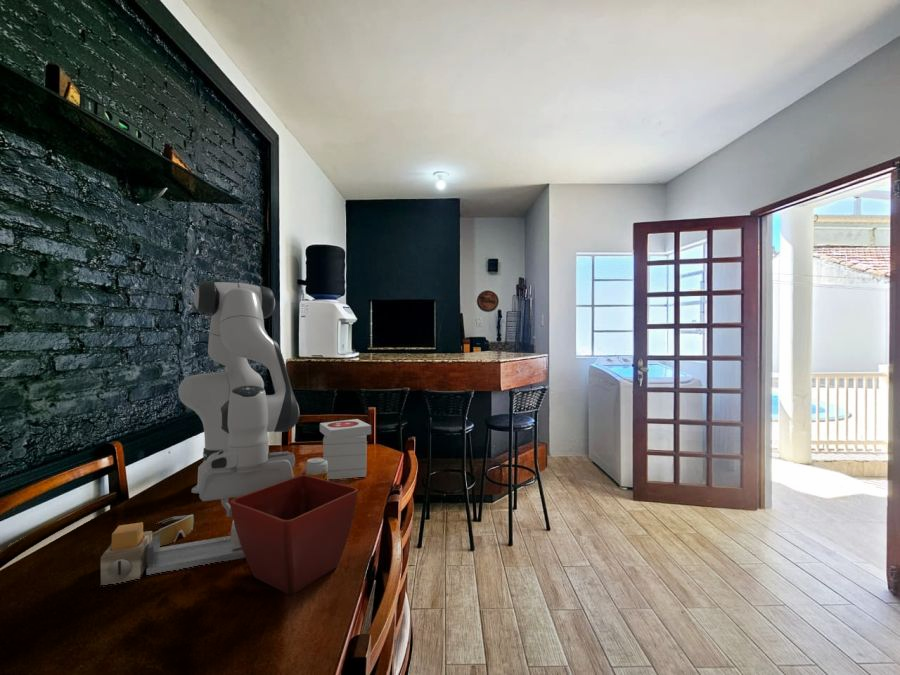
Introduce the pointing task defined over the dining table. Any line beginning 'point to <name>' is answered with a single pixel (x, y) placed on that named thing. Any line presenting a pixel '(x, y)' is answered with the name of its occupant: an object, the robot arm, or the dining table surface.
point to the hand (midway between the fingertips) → (248, 512)
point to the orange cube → (127, 536)
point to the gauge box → (125, 562)
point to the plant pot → (294, 530)
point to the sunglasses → (174, 529)
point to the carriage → (234, 538)
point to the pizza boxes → (345, 448)
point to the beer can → (317, 468)
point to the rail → (190, 554)
